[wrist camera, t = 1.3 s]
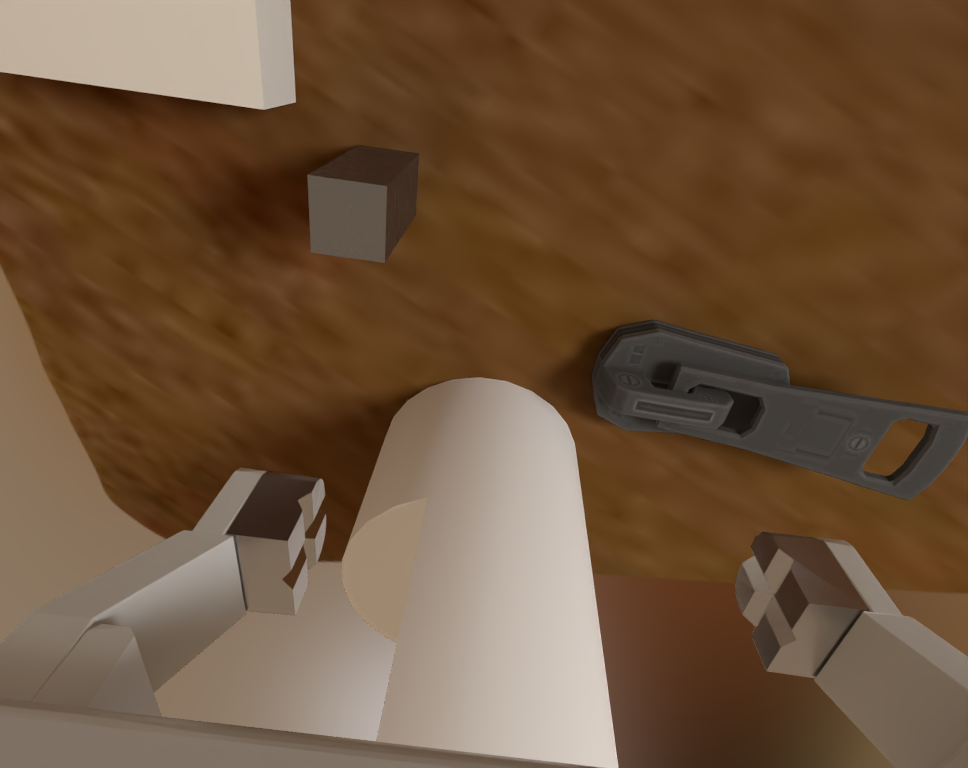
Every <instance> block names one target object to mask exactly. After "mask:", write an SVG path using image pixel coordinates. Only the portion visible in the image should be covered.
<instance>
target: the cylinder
mask: <svg viewBox="0 0 968 768" xmlns="http://www.w3.org/2000/svg"><path fill="white" fill-rule="evenodd" d="M342 584H343V586H344V589H345V591H346V594H347V596H348V599H349V601H350V603H351V605H352V606H353V607H354V608H355V609H356V611H357V612H358V613H359V615H360V616H361V617H362V618H363V619H364V621H365V622H366V623H368V624H369V625H370V626H372V627H373V628H374V629H375V630H377V631H378V632H380V633H381V634H382V635H384V636H385V637H386V638H388V639H390V640H392V641H394V642H396V643H397V646H396V650H395V655H394V660H393V664H392V669H391V674H390V678H389V683H388V688H387V693H386V697H385V702H384V707H383V712H382V716H381V721H380V726H379V731H378V736H377V740H376V742H384V743H393V744H402V745H410V746H419V747H428V748H436V749H445V750H454V751H463V752H471V753H480V754H489V755H498V756H506V757H515V758H524V759H533V760H541V761H550V762H559V763H568V764H576V765H585V766H594V767H603V768H618V761H617V753H616V746H615V739H614V731H613V724H612V717H611V709H610V702H609V694H608V687H607V679H606V672H605V664H604V657H603V650H602V642H601V635H600V627H599V620H598V612H597V605H596V598H595V590H594V583H593V575H592V568H591V560H590V553H589V545H588V538H587V531H586V523H585V516H584V508H583V501H582V493H581V486H580V479H579V471H578V464H577V456H576V449H575V443H574V440H573V438H572V435H571V433H570V430H569V428H568V425H567V423H566V422H565V421H564V420H563V418H562V417H561V416H560V415H559V413H558V412H557V411H556V410H555V408H554V407H553V406H552V405H551V404H549V403H548V402H546V401H545V400H543V399H542V398H541V397H539V396H538V395H536V394H535V393H534V392H532V391H530V390H528V389H525V388H522V387H520V386H517V385H515V384H512V383H510V382H507V381H501V380H494V379H487V378H481V377H477V378H464V379H452V380H449V381H446V382H443V383H440V384H437V385H434V386H431V387H428V388H426V389H425V390H423V391H421V392H420V393H418V394H417V395H415V396H414V397H412V398H411V399H409V400H408V401H407V402H406V403H405V404H404V405H403V406H402V408H401V409H400V410H399V411H398V412H397V413H396V415H395V416H394V417H393V419H392V422H391V424H390V427H389V429H388V432H387V434H386V437H385V440H384V442H383V445H382V448H381V451H380V454H379V457H378V459H377V462H376V465H375V468H374V471H373V474H372V476H371V479H370V482H369V485H368V488H367V491H366V493H365V496H364V499H363V502H362V505H361V508H360V510H359V513H358V516H357V519H356V522H355V525H354V527H353V530H352V533H351V536H350V539H349V542H348V544H347V547H346V550H345V553H344V556H343V559H342Z"/></svg>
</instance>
